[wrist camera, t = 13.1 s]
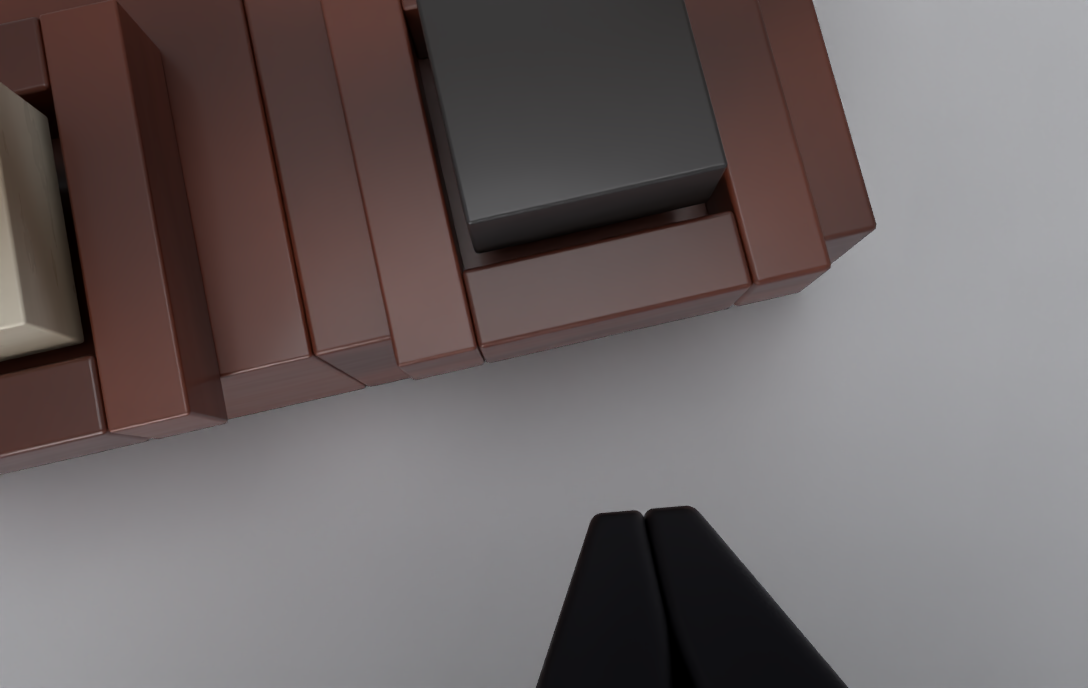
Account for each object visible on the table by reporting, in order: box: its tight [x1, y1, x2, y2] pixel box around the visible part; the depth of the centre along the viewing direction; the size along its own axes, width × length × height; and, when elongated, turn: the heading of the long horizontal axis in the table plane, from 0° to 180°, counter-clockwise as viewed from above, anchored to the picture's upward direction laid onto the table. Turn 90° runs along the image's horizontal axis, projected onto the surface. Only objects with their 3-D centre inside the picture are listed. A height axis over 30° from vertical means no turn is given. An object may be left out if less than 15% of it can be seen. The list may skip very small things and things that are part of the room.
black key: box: [416, 0, 727, 254], centre depth 15 cm, size 4×4×2 cm
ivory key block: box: [0, 0, 366, 475], centre depth 18 cm, size 10×10×7 cm
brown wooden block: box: [243, 0, 876, 386], centre depth 19 cm, size 10×10×7 cm
